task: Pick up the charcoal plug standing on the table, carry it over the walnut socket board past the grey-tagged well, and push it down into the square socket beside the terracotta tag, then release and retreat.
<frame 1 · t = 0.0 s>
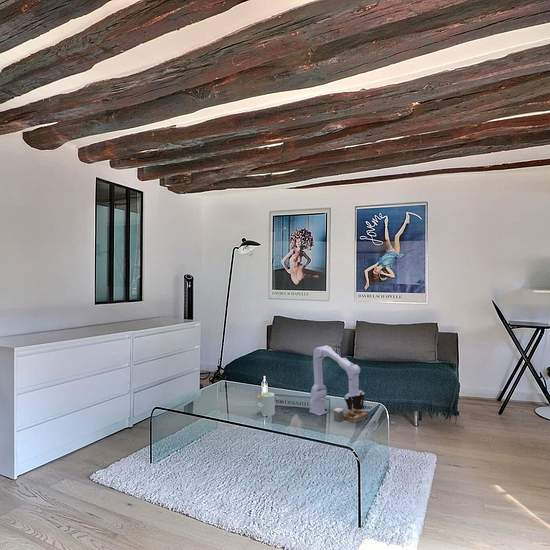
hand: (353, 408, 247), 10 cm above the table, fingers open, 7 cm apart
coffee mug: (355, 408, 276), on the table
socket board: (354, 417, 259), on the table
plug: (338, 420, 255), on the table
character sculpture: (266, 414, 268), on the table
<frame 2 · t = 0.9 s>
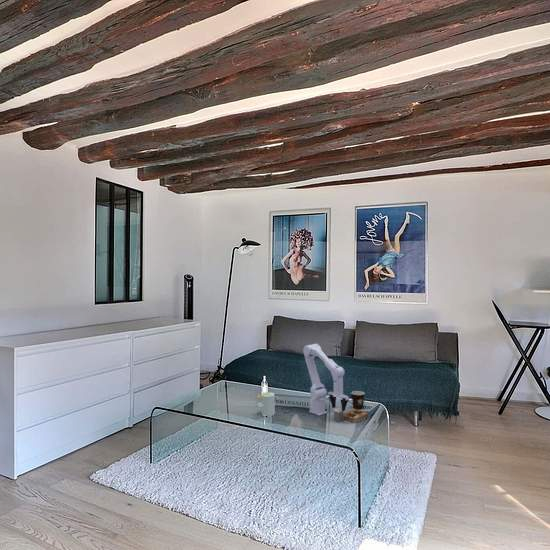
hand: (338, 409, 255), 7 cm above the table, fingers open, 7 cm apart
nothing on the table moved.
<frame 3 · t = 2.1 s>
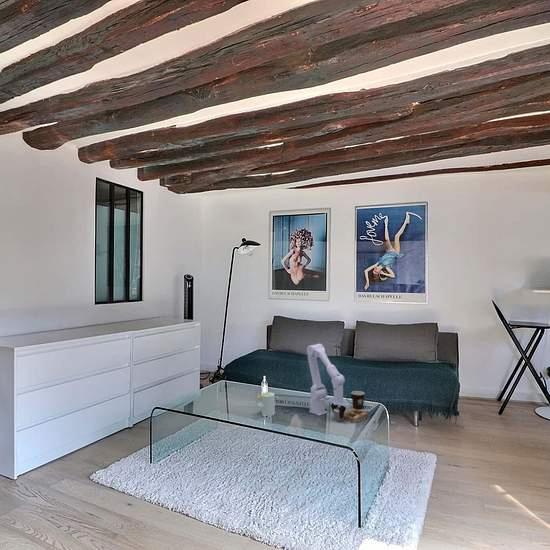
hand: (338, 416, 255), 2 cm above the table, fingers closed on plug, 4 cm apart
plug: (338, 420, 255), on the table, touching gripper
everything else where it was.
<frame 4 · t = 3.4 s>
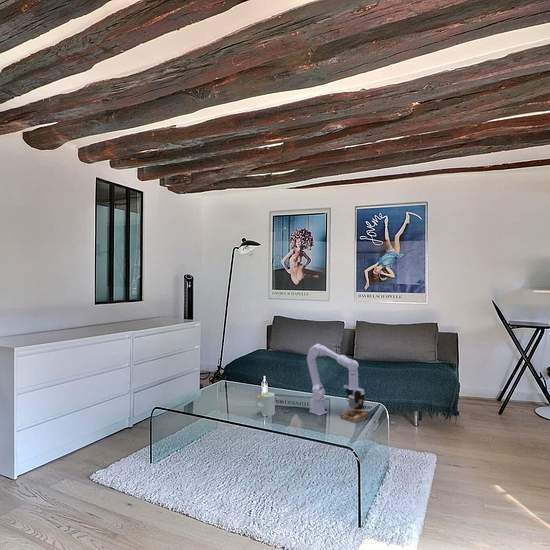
hand: (353, 402, 260), 10 cm above the table, fingers closed on plug, 4 cm apart
plug: (353, 406, 260), point 7 cm above the table, touching gripper
everything else where it was.
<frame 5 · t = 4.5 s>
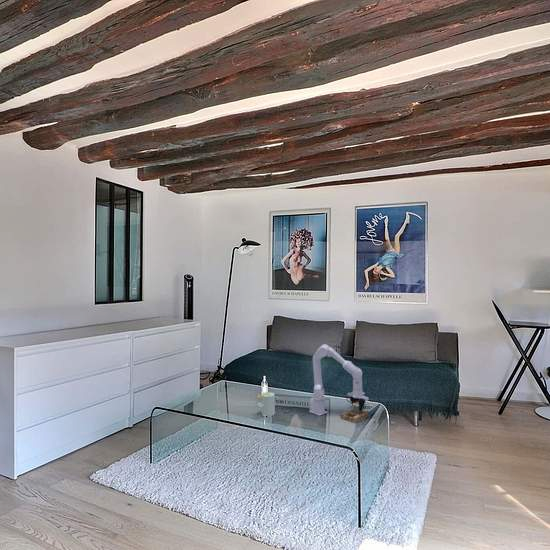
hand: (357, 409, 261), 4 cm above the table, fingers closed on plug, 4 cm apart
plug: (357, 414, 261), point 1 cm above the table, touching gripper
everything else where it was.
when the fingers open (3 cm above the table, at t = 5.1 s): plug stays where it is, resting in socket board.
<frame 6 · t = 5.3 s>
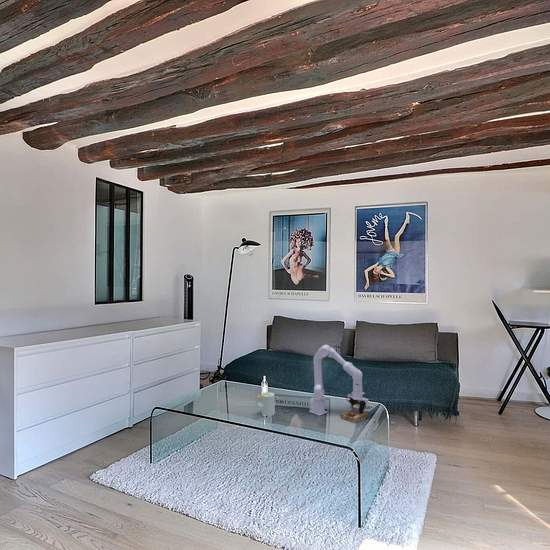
hand: (357, 411, 262), 3 cm above the table, fingers open, 5 cm apart
plug: (357, 416, 261), resting in socket board
everything else where it was.
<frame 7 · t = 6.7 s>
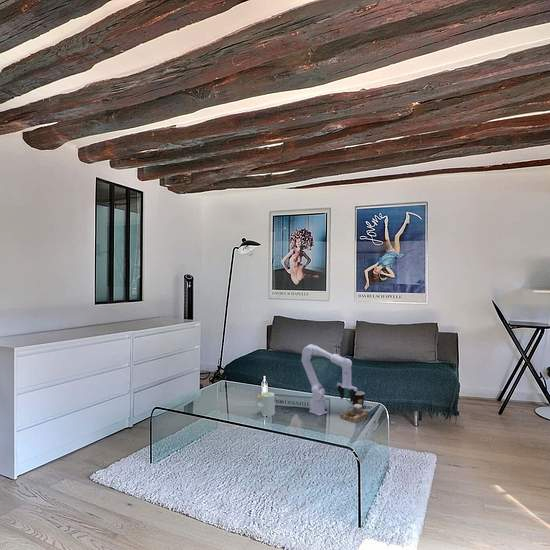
hand: (347, 399, 262), 10 cm above the table, fingers open, 7 cm apart
nothing on the table moved.
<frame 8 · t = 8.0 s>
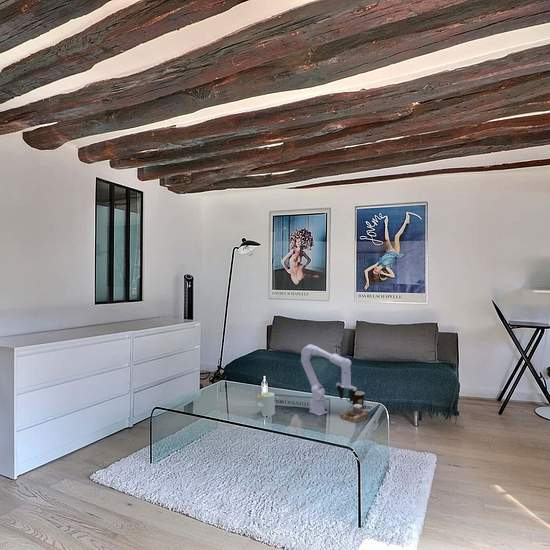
hand: (346, 399, 262), 10 cm above the table, fingers open, 7 cm apart
nothing on the table moved.
at the end: plug 0.4 cm from the target spot on the socket board, point 0.0 cm above the socket board's base; plug tilted 0°; the gripper is holding nothing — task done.
